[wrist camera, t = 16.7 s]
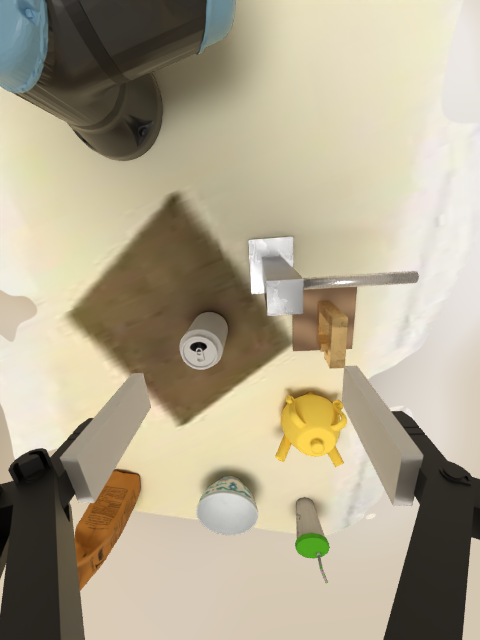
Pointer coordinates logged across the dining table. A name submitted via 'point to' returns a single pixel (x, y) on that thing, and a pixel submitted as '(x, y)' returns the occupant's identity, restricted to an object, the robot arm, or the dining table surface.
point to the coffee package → (104, 523)
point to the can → (204, 341)
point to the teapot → (312, 426)
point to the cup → (310, 532)
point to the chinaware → (227, 507)
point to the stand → (287, 285)
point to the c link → (332, 333)
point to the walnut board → (308, 320)
